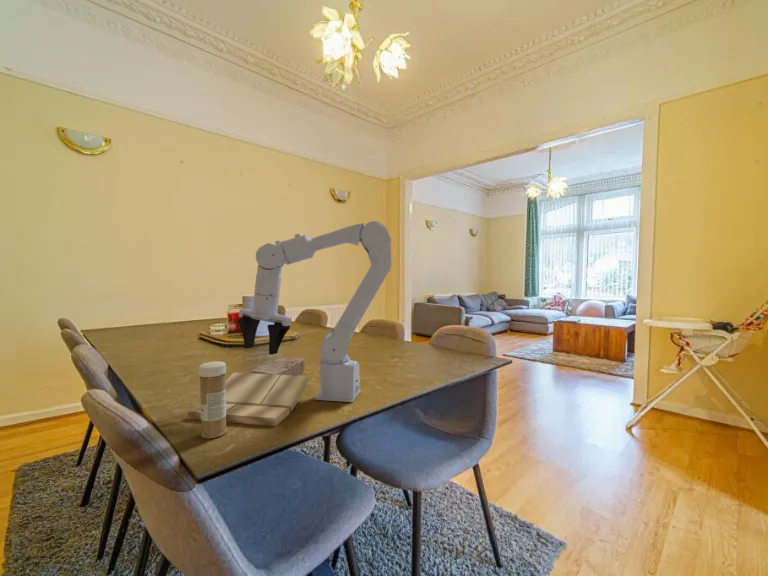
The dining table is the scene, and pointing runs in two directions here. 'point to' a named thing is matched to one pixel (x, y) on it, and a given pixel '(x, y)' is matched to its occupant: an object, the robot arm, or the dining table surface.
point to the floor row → (249, 413)
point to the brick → (282, 367)
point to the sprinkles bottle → (212, 399)
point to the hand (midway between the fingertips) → (260, 350)
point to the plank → (265, 389)
